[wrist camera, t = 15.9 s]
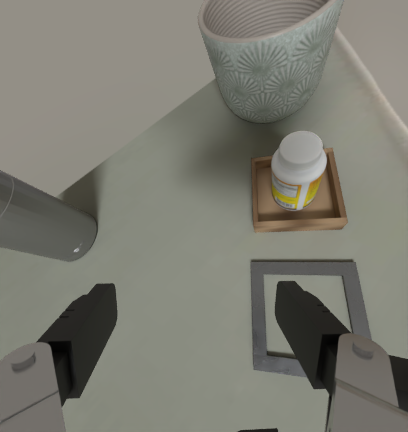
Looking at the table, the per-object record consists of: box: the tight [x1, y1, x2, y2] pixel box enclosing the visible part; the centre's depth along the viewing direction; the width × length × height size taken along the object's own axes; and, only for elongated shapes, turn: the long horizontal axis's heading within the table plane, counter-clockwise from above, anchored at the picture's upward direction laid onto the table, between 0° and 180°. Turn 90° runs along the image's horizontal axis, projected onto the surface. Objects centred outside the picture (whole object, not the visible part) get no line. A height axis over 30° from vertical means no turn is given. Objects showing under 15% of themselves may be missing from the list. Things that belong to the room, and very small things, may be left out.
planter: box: [198, 0, 344, 123], centre depth 32 cm, size 17×17×15 cm
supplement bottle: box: [271, 131, 327, 211], centre depth 26 cm, size 6×6×10 cm
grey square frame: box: [251, 262, 372, 377], centre depth 25 cm, size 12×12×1 cm
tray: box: [251, 148, 348, 232], centre depth 30 cm, size 11×11×3 cm
